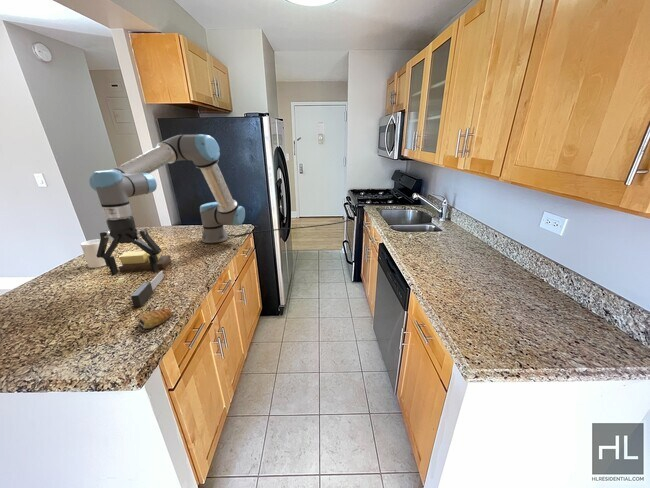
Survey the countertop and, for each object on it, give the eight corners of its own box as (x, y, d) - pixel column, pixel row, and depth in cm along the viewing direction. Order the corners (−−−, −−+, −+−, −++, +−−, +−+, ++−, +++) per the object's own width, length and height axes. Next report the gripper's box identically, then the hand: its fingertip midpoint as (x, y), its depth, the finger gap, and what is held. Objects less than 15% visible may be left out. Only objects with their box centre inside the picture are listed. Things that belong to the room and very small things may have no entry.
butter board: (171, 260, 134) (170, 255, 133) (163, 269, 125) (161, 263, 124) (131, 262, 132) (129, 257, 130) (120, 272, 122) (118, 266, 121)
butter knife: (166, 277, 118) (163, 267, 116) (141, 306, 97) (137, 295, 95) (160, 277, 117) (157, 267, 115) (134, 307, 96) (130, 296, 94)
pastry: (166, 310, 94) (164, 301, 93) (176, 317, 91) (174, 308, 89) (137, 324, 87) (134, 314, 86) (146, 332, 84) (143, 322, 82)
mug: (120, 259, 135) (113, 237, 131) (111, 266, 128) (103, 244, 123) (94, 261, 133) (86, 239, 129) (83, 268, 126) (75, 245, 121)
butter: (150, 257, 130) (148, 250, 129) (144, 262, 125) (142, 255, 123) (128, 259, 129) (126, 251, 127) (121, 264, 123) (119, 256, 122)
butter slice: (160, 257, 131) (158, 249, 129) (155, 262, 125) (153, 254, 124) (154, 257, 130) (152, 250, 129) (148, 262, 125) (146, 255, 124)
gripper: (70, 221, 83) (91, 279, 91) (153, 218, 87) (167, 274, 95) (86, 215, 90) (104, 270, 98) (163, 213, 94) (175, 265, 102)
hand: (135, 272), depth 96 cm, fingers open, 13 cm apart
